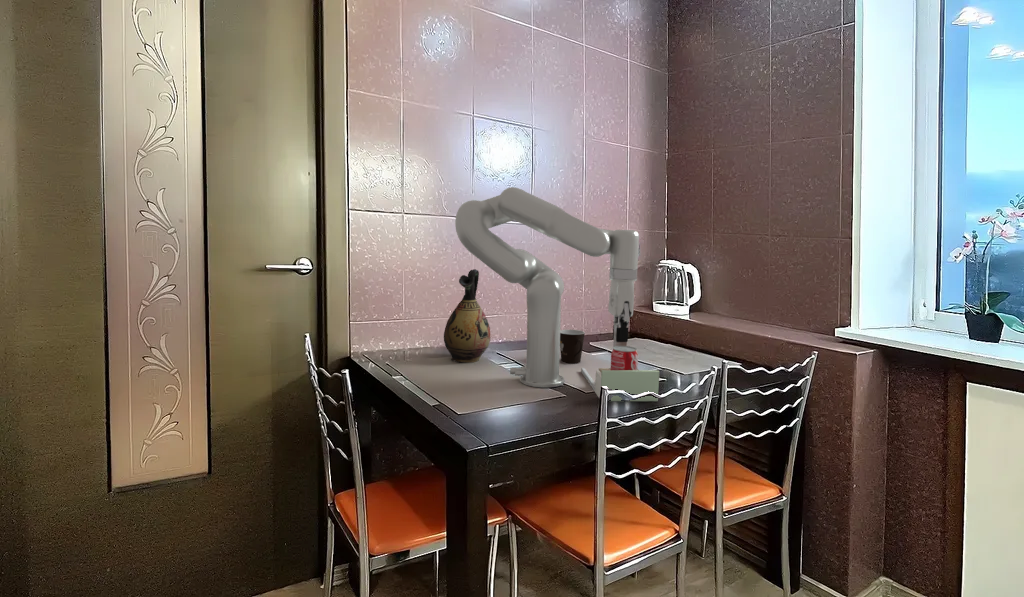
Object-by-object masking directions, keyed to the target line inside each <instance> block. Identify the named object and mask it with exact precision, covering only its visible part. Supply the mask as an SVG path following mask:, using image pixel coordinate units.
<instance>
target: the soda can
mask: <svg viewBox="0 0 1024 597" xmlns="http://www.w3.org/2000/svg"><path fill="white" fill-rule="evenodd" d="M638 364H639V353H638V352H637V348H636V347H633V346H629V345H627V346H615V347H613V346H612V351H611V354H610V368H611V370H639V368H638V367H639V366H638Z"/></svg>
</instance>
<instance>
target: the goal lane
mask: <svg viewBox="0 0 1024 597" xmlns="http://www.w3.org/2000/svg"><path fill="white" fill-rule="evenodd" d="M580 372H581V373H582V375H583V377H584V378H585V379H586V381H587V380H588V381H587V383H588V384H589V383H590V384H589V386H590V387H591V386H592V387H591V388H592V390H593V391H594V393H595V394H596V396H597V398H599V395H600V387H601V386H607V387H608V388H609V389H612V390H615V389H618V390H624V391H626V392H627V393H630V394H640V393H643V392H648V391H649V392H654V393H656V394H658V395H659V386H660V384H659V383H660V371H659V370H650V369H649V370H640V369H638V370H602V373H601V372H600V371H599V370H595V380H594V379H593V378H592V376H591V375H590V373H589V372H588V370H587V369H586V368H585V367H581V370H580ZM621 400H622V398H621V397H619V396H613V397H612V398H611V401H610V402H622V401H621ZM658 400H659V397H658V398H655V397H653V396H645V397H641V398H638V399H636V400H630V401H629V402H658Z"/></svg>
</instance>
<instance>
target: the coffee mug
mask: <svg viewBox="0 0 1024 597" xmlns="http://www.w3.org/2000/svg"><path fill="white" fill-rule="evenodd" d="M585 334H586V332H585V331H583V330H579V329H560V362H561V363H564V364H567V365H571V364H572V365H573V364H574V365H576V364H580V363H581V359H582V354H583V347H584V342H585Z"/></svg>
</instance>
